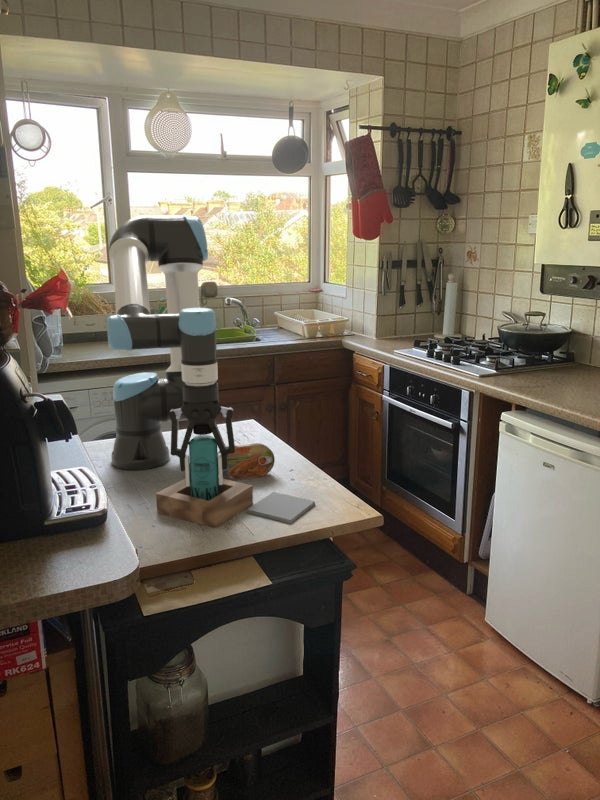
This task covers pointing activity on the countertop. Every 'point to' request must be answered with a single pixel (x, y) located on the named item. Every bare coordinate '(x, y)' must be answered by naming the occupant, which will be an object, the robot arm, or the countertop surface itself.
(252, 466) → the tin
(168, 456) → the robot arm
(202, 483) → the beverage bottle
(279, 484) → the countertop surface
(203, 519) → the walnut bottle holder
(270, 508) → the slate mat
